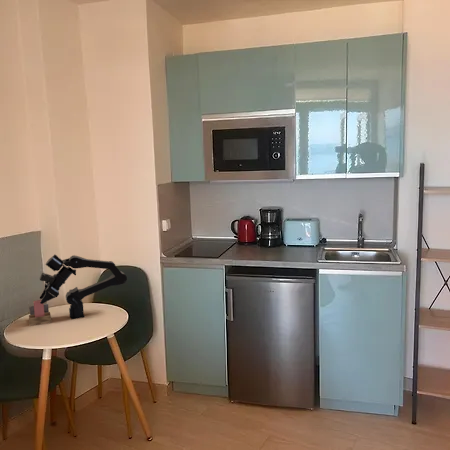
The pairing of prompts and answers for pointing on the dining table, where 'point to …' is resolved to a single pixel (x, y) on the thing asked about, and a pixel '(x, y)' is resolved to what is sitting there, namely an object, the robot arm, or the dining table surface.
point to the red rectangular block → (38, 309)
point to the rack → (39, 320)
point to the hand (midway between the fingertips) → (40, 301)
